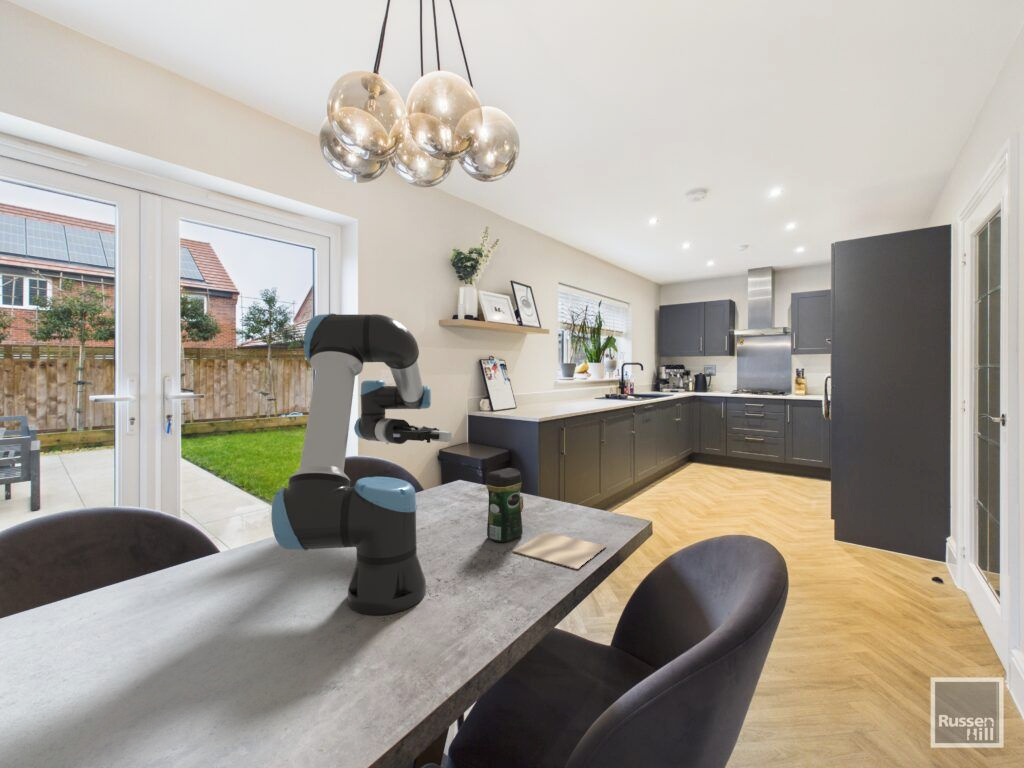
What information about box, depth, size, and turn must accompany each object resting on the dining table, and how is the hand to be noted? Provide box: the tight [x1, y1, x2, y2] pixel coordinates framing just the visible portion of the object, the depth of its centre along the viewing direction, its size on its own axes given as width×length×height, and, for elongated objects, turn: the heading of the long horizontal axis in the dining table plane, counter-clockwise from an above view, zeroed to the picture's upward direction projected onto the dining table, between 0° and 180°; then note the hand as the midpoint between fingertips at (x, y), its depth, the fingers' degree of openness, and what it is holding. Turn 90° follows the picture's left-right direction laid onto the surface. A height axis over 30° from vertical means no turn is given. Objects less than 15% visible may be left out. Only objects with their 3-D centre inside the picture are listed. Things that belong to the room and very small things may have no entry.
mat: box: [512, 531, 607, 569], centre depth 113 cm, size 18×16×1 cm
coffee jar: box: [485, 467, 524, 543], centre depth 122 cm, size 10×8×19 cm
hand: (449, 437), depth 125 cm, fingers closed
